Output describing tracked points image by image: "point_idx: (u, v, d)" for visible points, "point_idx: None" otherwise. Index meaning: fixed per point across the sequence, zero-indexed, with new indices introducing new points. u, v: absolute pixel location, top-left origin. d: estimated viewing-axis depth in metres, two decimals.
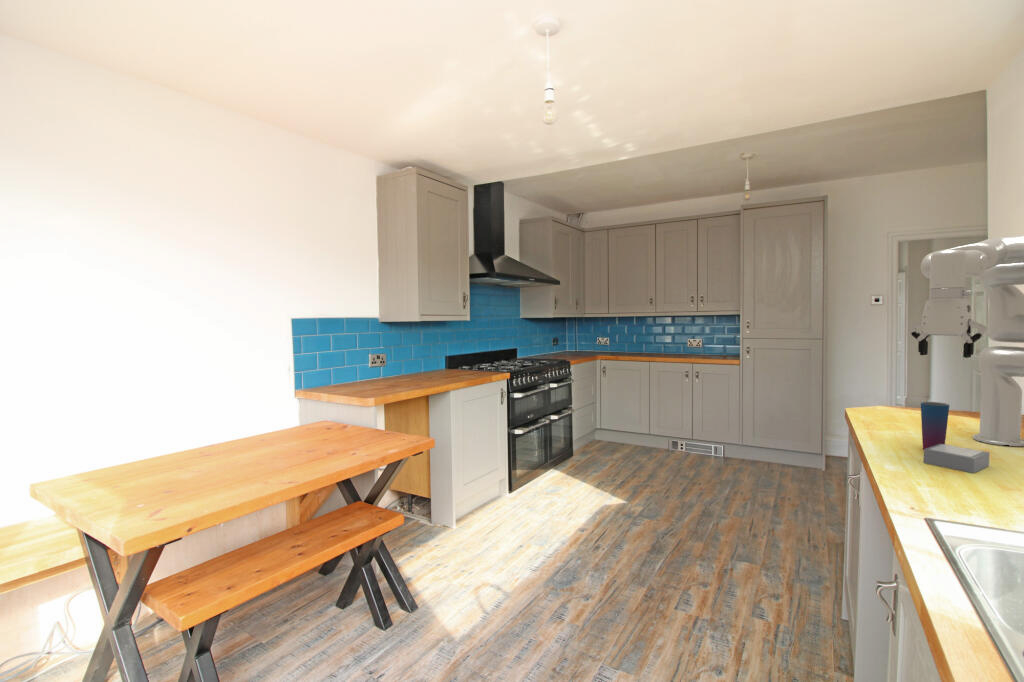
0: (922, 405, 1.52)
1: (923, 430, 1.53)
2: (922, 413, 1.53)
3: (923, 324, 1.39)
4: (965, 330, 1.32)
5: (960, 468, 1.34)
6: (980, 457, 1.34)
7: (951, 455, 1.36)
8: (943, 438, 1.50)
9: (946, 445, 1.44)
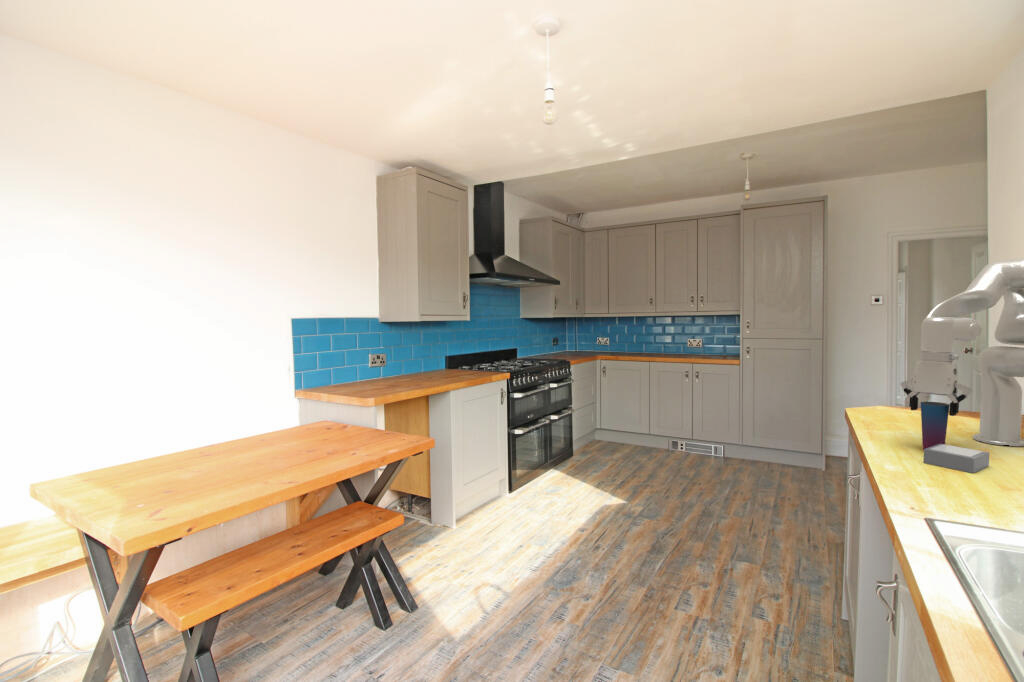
0: (922, 405, 1.52)
1: (923, 430, 1.53)
2: (922, 413, 1.53)
3: (914, 382, 1.54)
4: (951, 391, 1.46)
5: (960, 468, 1.34)
6: (980, 457, 1.34)
7: (951, 455, 1.36)
8: (943, 438, 1.50)
9: (946, 445, 1.44)
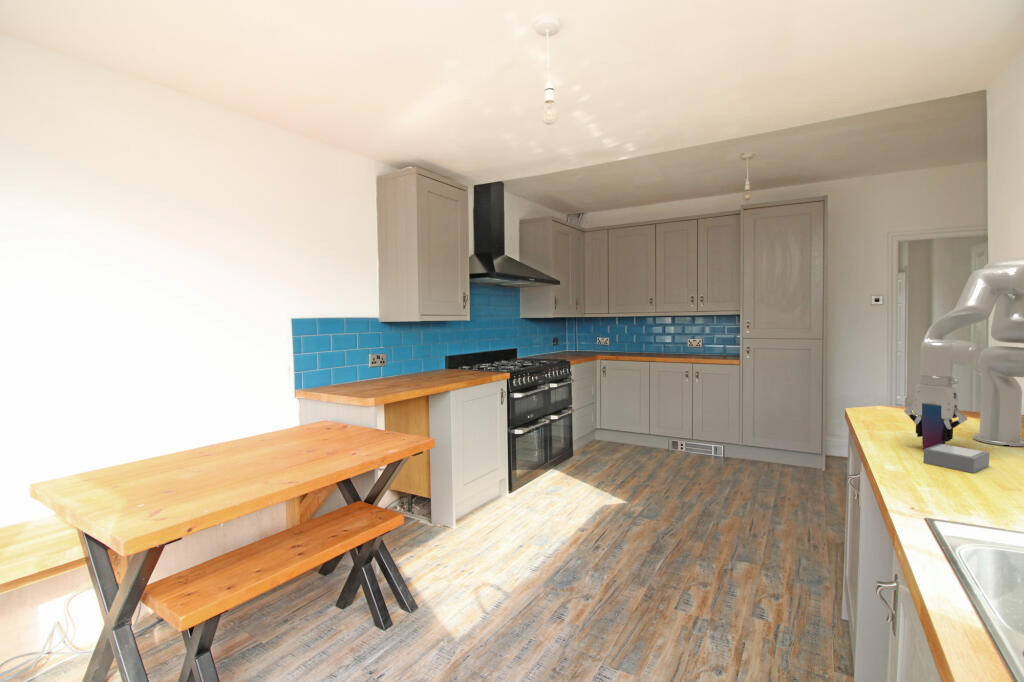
0: (922, 405, 1.52)
1: (923, 430, 1.53)
2: (922, 413, 1.53)
3: (914, 406, 1.55)
4: (951, 415, 1.47)
5: (960, 468, 1.34)
6: (980, 457, 1.34)
7: (951, 455, 1.36)
8: (943, 438, 1.50)
9: (946, 445, 1.44)
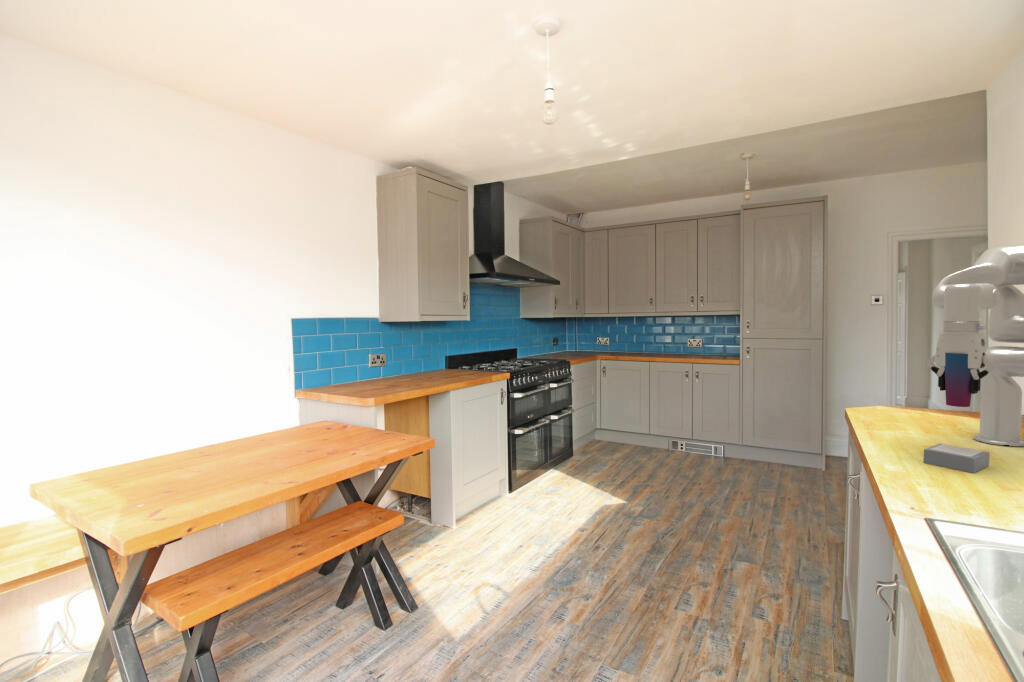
0: (946, 355, 1.38)
1: (947, 382, 1.39)
2: (945, 364, 1.38)
3: (937, 356, 1.40)
4: (979, 364, 1.33)
5: (960, 468, 1.34)
6: (980, 457, 1.34)
7: (951, 455, 1.36)
8: (969, 390, 1.35)
9: (946, 445, 1.44)
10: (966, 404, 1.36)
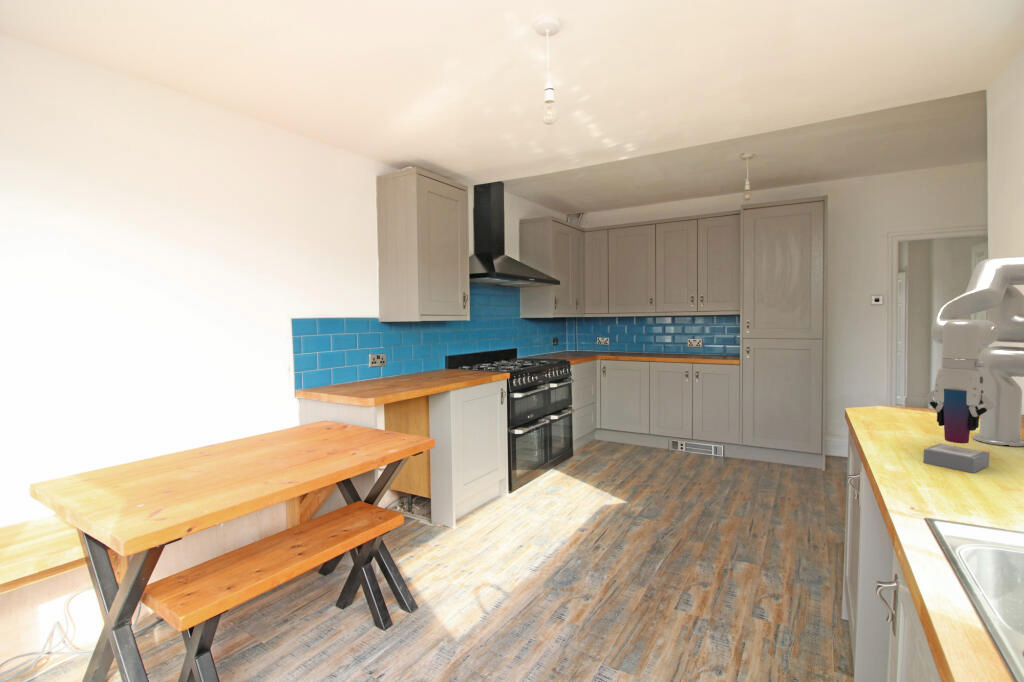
0: (944, 391, 1.39)
1: (945, 418, 1.39)
2: (944, 399, 1.39)
3: (935, 392, 1.41)
4: (978, 401, 1.33)
5: (960, 468, 1.34)
6: (980, 457, 1.34)
7: (951, 455, 1.36)
8: (968, 427, 1.36)
9: (946, 445, 1.44)
10: (965, 441, 1.36)
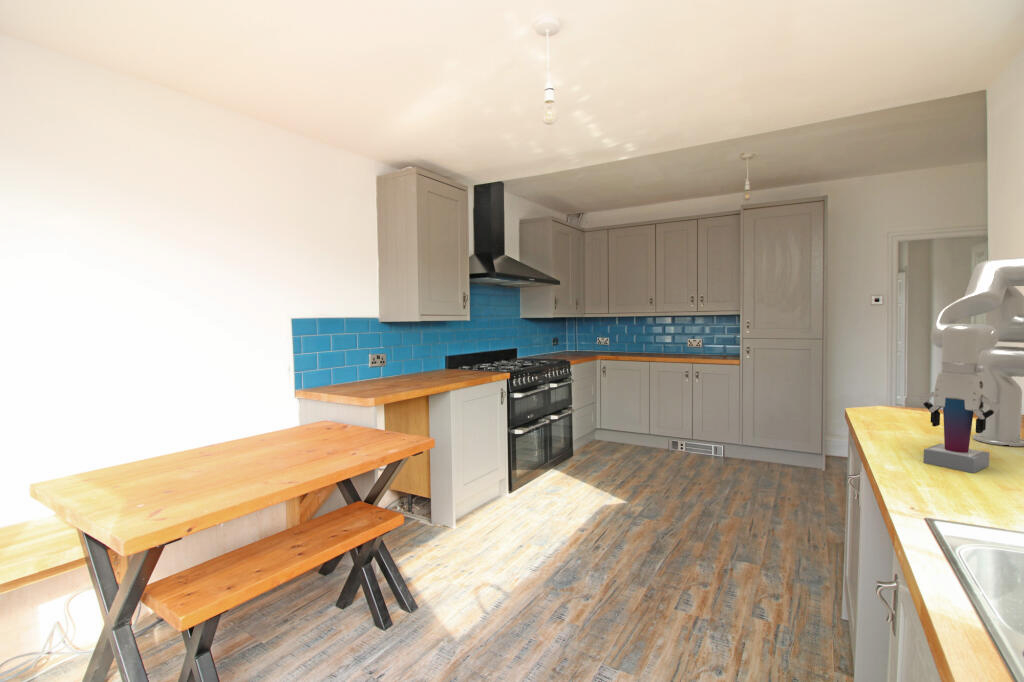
0: None
1: (945, 427, 1.39)
2: (944, 408, 1.39)
3: (935, 396, 1.41)
4: (978, 406, 1.33)
5: (960, 468, 1.34)
6: (980, 457, 1.34)
7: (951, 455, 1.36)
8: (968, 436, 1.36)
9: None
10: (964, 449, 1.37)
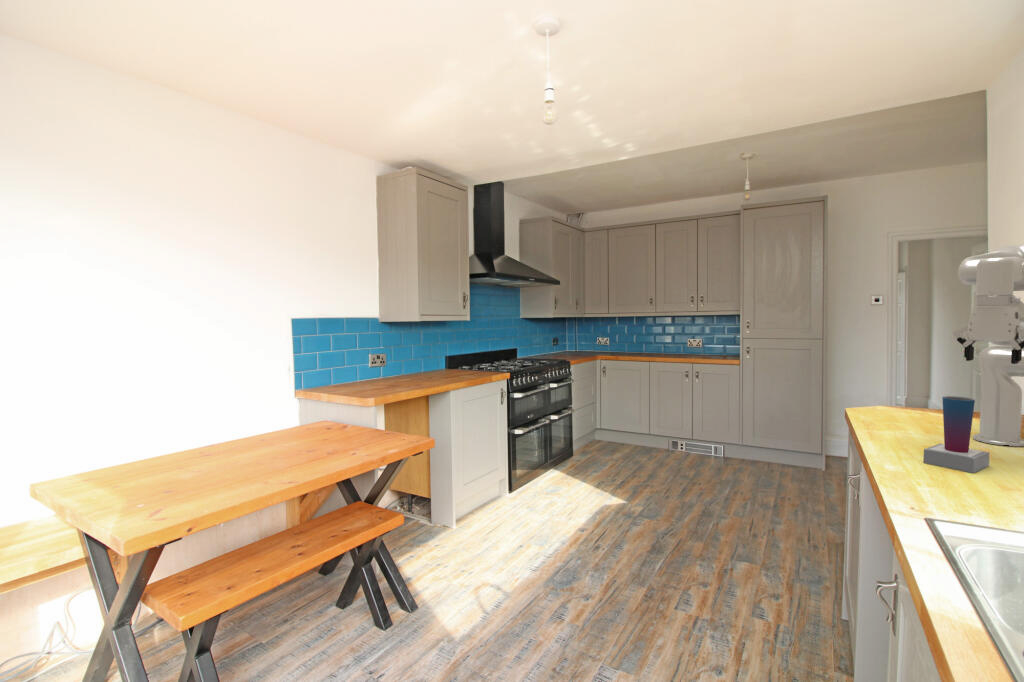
0: (944, 400, 1.39)
1: (945, 427, 1.39)
2: (944, 408, 1.39)
3: (969, 330, 1.41)
4: (1013, 337, 1.34)
5: (960, 468, 1.34)
6: (980, 457, 1.34)
7: (951, 455, 1.36)
8: (968, 436, 1.36)
9: None
10: (964, 450, 1.37)
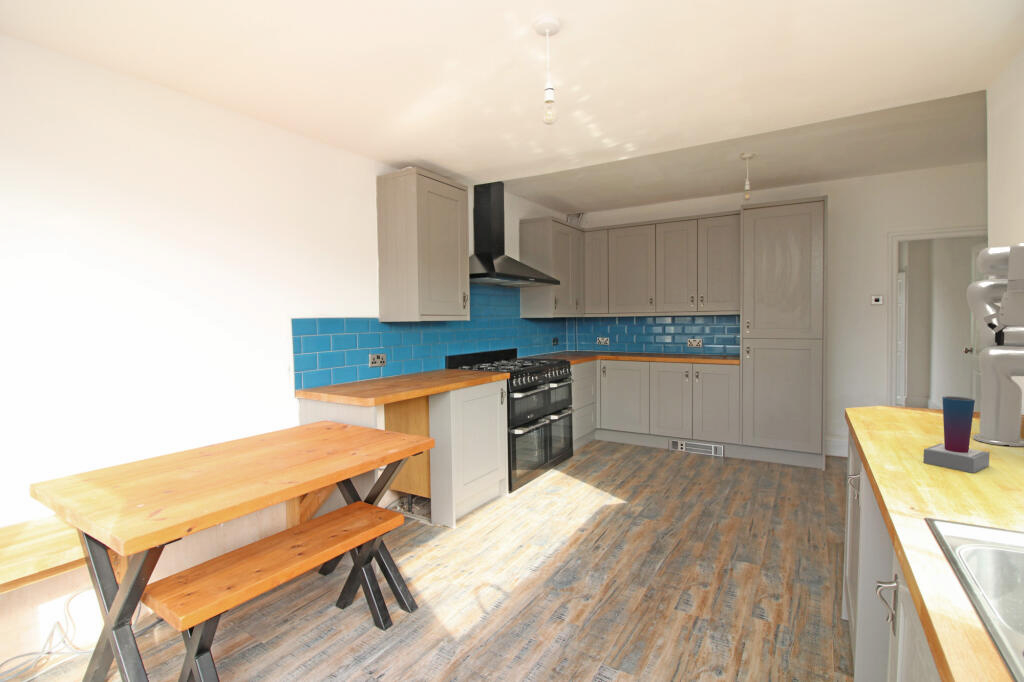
0: (944, 400, 1.39)
1: (945, 427, 1.39)
2: (944, 409, 1.39)
3: (1001, 315, 1.42)
4: None
5: (960, 468, 1.34)
6: (980, 457, 1.34)
7: (951, 455, 1.36)
8: (968, 436, 1.36)
9: None
10: (964, 450, 1.37)
